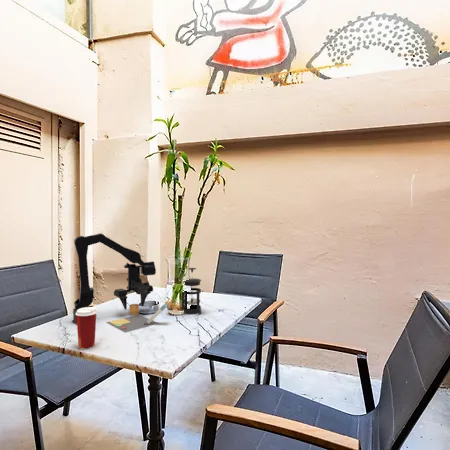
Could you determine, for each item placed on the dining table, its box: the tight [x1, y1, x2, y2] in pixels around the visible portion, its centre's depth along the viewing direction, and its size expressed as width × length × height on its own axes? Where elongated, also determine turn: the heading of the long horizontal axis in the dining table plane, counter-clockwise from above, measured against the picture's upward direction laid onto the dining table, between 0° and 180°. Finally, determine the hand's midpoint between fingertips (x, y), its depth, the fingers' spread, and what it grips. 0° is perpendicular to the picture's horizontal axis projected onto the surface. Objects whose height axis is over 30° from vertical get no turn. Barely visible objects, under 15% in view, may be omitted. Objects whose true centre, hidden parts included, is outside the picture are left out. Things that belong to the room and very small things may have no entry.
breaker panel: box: [105, 314, 160, 333], centre depth 154 cm, size 17×18×1 cm
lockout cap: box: [129, 303, 140, 316], centre depth 168 cm, size 4×4×5 cm
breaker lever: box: [146, 303, 169, 324], centre depth 153 cm, size 2×3×11 cm
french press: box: [181, 267, 202, 316], centre depth 171 cm, size 12×9×23 cm
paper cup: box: [75, 306, 98, 349], centre depth 129 cm, size 8×8×14 cm
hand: (134, 307), depth 168 cm, fingers open, 9 cm apart
